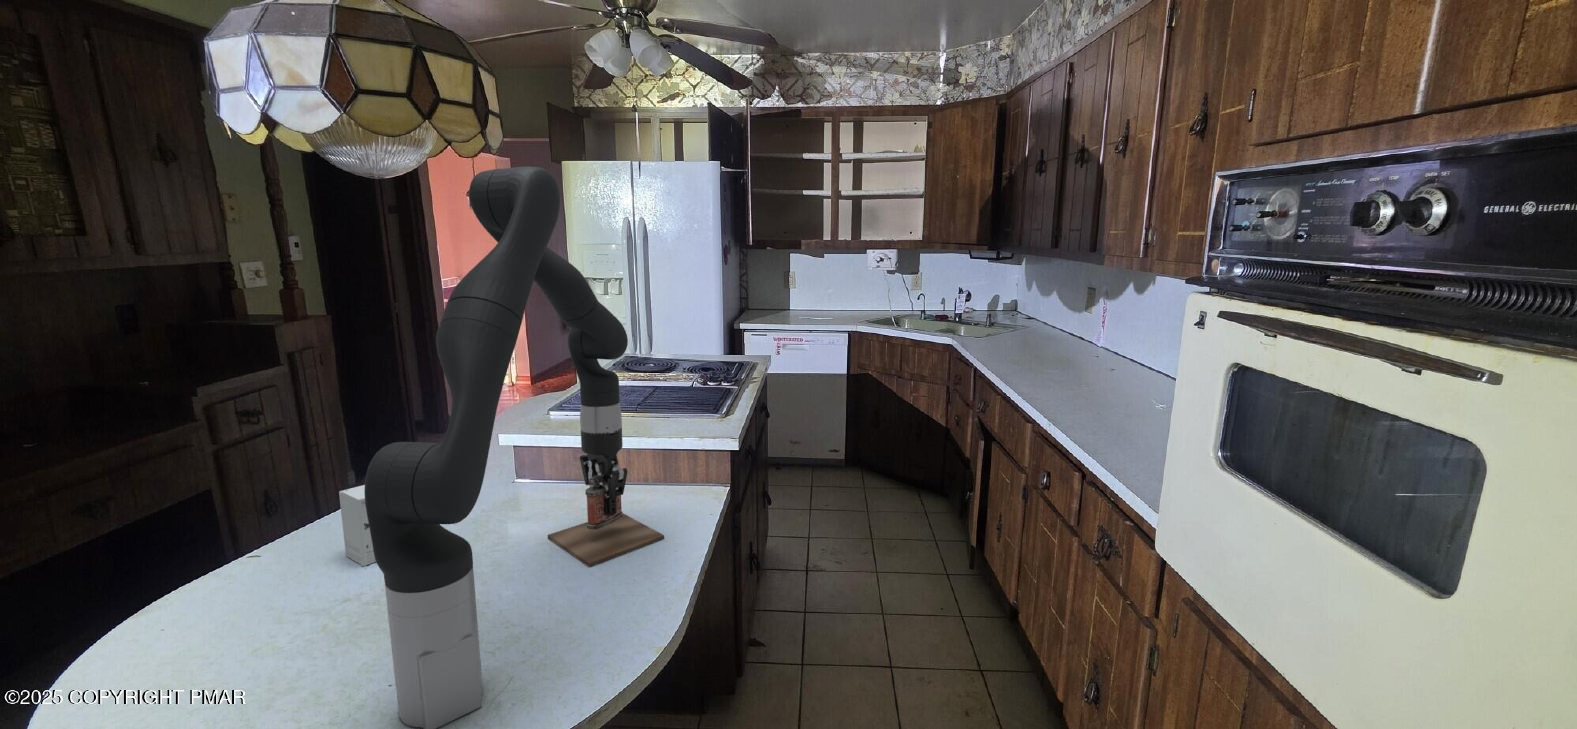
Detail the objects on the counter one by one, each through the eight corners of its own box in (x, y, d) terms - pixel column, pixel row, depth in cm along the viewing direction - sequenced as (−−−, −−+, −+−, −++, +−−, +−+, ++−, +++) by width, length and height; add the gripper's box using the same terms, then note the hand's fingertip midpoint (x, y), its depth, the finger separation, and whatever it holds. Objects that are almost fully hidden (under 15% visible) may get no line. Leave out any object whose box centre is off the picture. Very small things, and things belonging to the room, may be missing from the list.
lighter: (614, 512, 127) (612, 465, 125) (626, 516, 125) (625, 468, 123) (582, 527, 120) (580, 477, 118) (595, 531, 118) (593, 480, 116)
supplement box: (363, 567, 111) (356, 499, 109) (345, 556, 115) (337, 490, 113) (407, 551, 117) (401, 487, 115) (388, 541, 121) (382, 478, 119)
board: (664, 539, 123) (664, 535, 123) (589, 567, 112) (589, 563, 112) (620, 515, 134) (619, 511, 134) (547, 538, 123) (547, 534, 123)
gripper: (564, 422, 121) (568, 506, 124) (603, 437, 112) (606, 528, 115) (599, 415, 127) (602, 496, 130) (639, 429, 117) (641, 516, 120)
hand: (604, 511), depth 122 cm, fingers closed on lighter, 3 cm apart
